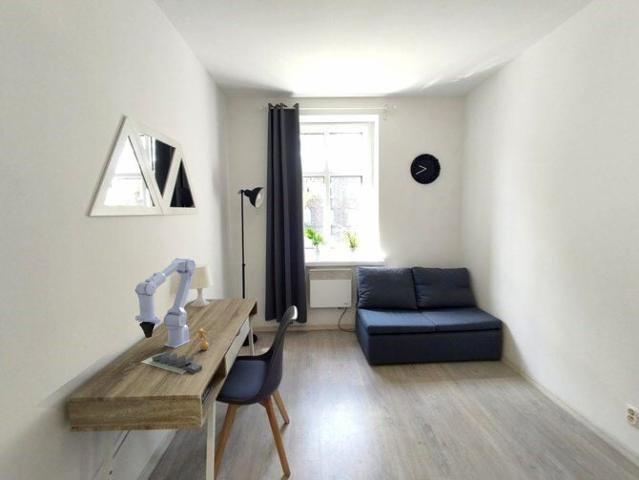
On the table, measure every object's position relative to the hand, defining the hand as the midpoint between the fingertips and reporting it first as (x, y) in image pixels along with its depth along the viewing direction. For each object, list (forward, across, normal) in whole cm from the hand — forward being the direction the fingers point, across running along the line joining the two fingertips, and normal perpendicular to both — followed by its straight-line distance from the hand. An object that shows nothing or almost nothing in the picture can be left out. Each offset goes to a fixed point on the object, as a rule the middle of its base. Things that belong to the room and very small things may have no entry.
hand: (148, 337), depth 142 cm
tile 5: (+9, +24, 0) cm, 25 cm away
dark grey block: (+9, +19, 0) cm, 21 cm away
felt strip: (+10, +13, 0) cm, 16 cm away
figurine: (+10, +17, +16) cm, 25 cm away
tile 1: (+9, +4, 0) cm, 10 cm away
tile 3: (+9, +14, 0) cm, 17 cm away
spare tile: (+9, +9, 0) cm, 13 cm away
